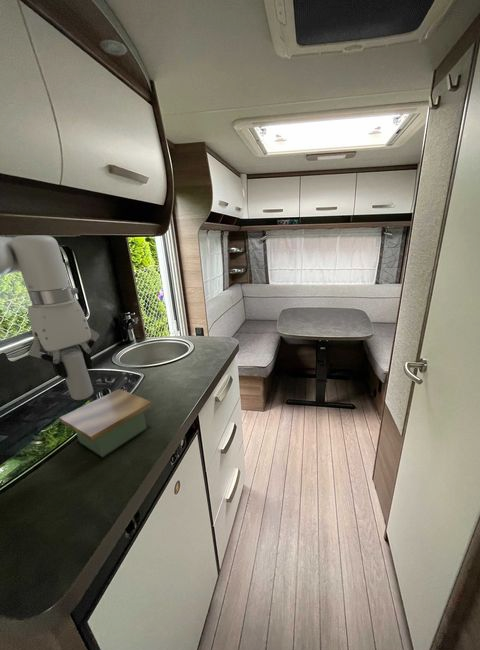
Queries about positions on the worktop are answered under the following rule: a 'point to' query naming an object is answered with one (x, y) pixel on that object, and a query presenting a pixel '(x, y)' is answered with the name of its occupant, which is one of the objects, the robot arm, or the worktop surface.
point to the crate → (115, 436)
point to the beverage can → (76, 374)
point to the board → (105, 414)
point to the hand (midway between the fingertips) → (75, 371)
